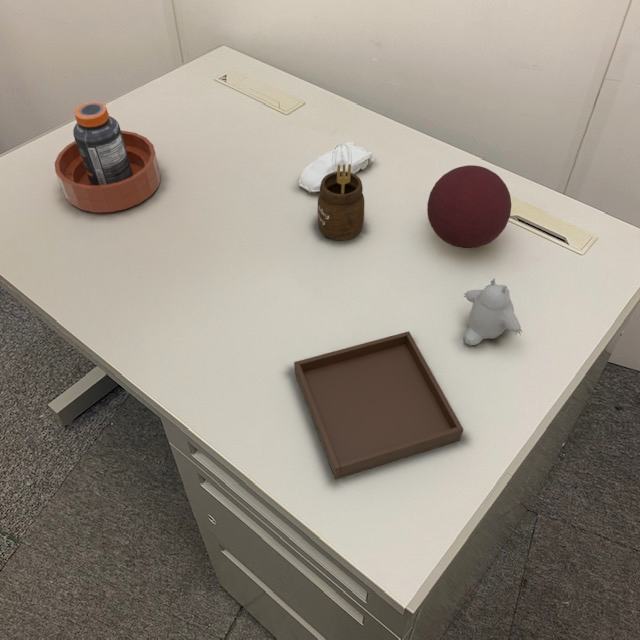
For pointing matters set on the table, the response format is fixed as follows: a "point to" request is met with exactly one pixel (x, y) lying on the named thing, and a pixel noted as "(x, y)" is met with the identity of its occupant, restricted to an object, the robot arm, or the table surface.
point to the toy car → (323, 165)
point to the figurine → (490, 313)
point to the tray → (375, 404)
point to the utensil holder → (341, 204)
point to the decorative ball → (469, 207)
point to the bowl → (116, 193)
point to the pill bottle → (101, 145)
